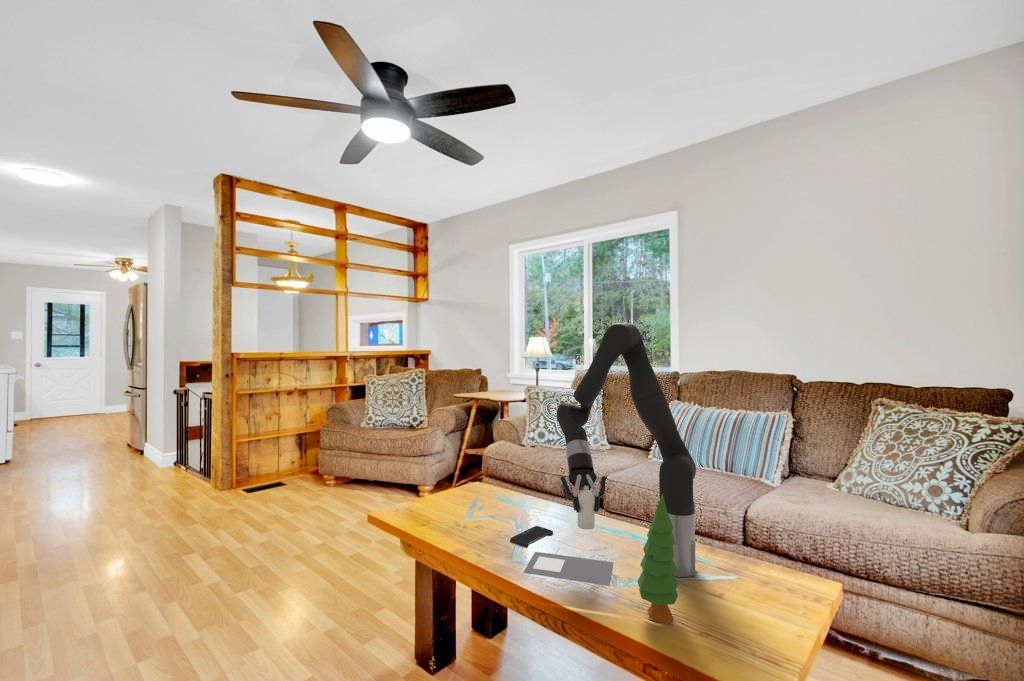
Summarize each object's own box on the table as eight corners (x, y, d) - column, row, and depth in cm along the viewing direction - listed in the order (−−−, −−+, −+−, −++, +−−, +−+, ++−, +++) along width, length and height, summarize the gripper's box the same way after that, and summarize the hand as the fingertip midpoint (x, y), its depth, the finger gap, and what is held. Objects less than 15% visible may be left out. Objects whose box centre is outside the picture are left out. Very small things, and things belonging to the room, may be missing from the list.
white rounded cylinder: (595, 524, 137) (595, 484, 137) (593, 530, 132) (593, 489, 132) (579, 522, 138) (579, 482, 138) (576, 528, 134) (576, 487, 134)
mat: (613, 564, 140) (613, 561, 140) (609, 587, 126) (609, 585, 126) (535, 553, 147) (535, 551, 147) (523, 574, 133) (523, 572, 133)
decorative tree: (672, 632, 107) (672, 500, 107) (631, 620, 112) (631, 493, 112) (681, 612, 115) (681, 489, 115) (642, 601, 120) (643, 483, 120)
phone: (554, 531, 163) (527, 545, 151) (554, 534, 163) (527, 548, 151) (536, 525, 168) (508, 538, 156) (536, 528, 168) (508, 541, 156)
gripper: (557, 451, 142) (564, 505, 130) (604, 451, 143) (615, 504, 131) (554, 464, 148) (561, 517, 136) (600, 464, 149) (610, 516, 137)
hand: (587, 510), depth 134 cm, fingers closed on white rounded cylinder, 4 cm apart
